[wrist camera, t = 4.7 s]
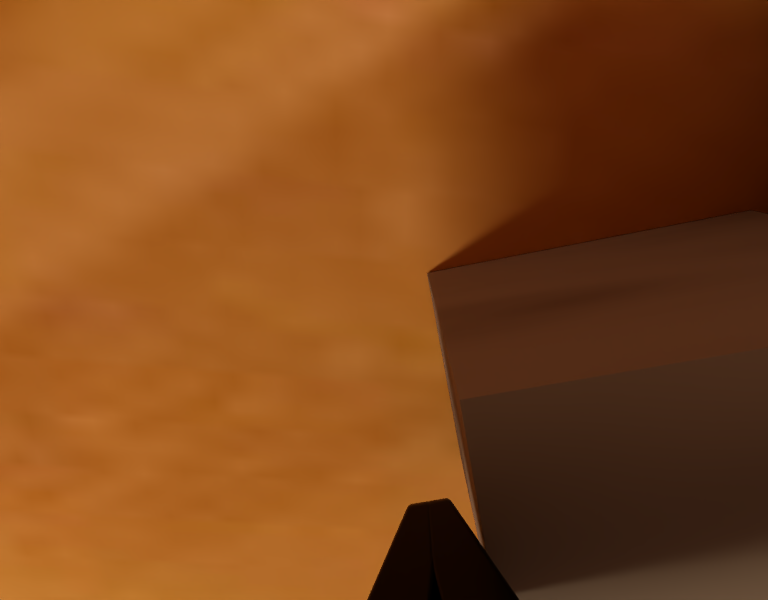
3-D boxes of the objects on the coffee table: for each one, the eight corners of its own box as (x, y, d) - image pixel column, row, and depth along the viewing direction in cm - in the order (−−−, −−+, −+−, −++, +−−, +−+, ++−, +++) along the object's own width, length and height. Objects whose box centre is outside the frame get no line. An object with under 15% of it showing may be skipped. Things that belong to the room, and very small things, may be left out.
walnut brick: (738, 415, 13) (993, 626, 8) (461, 460, 14) (509, 682, 8) (750, 210, 11) (1109, 289, 6) (427, 273, 12) (459, 400, 6)
